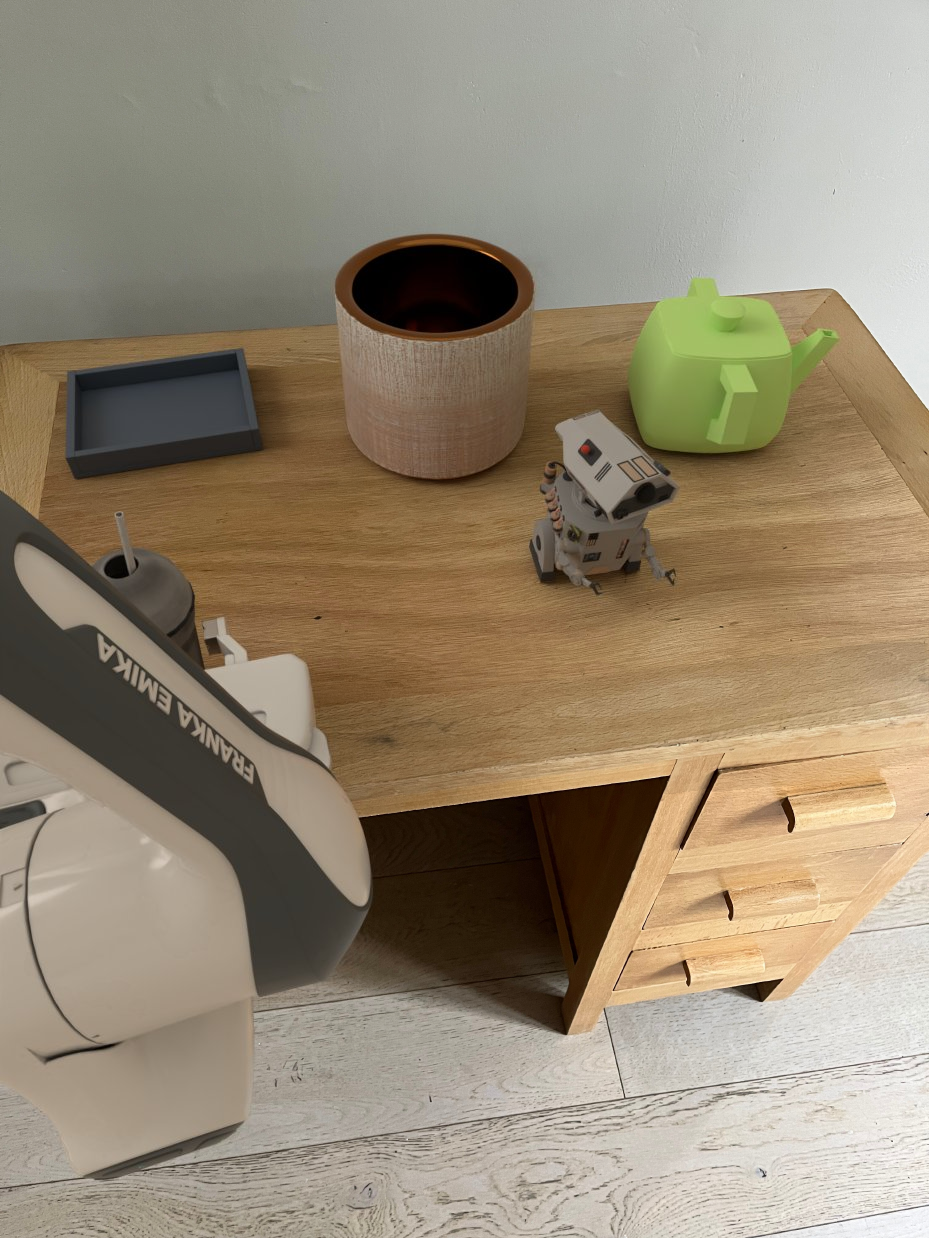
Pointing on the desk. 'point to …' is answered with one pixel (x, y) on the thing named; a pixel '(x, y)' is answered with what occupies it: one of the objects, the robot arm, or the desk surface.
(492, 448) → the planter
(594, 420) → the figurine
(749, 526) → the desk surface
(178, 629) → the beverage cup
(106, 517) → the desk surface
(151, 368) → the tray
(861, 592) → the desk surface
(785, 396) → the teapot
